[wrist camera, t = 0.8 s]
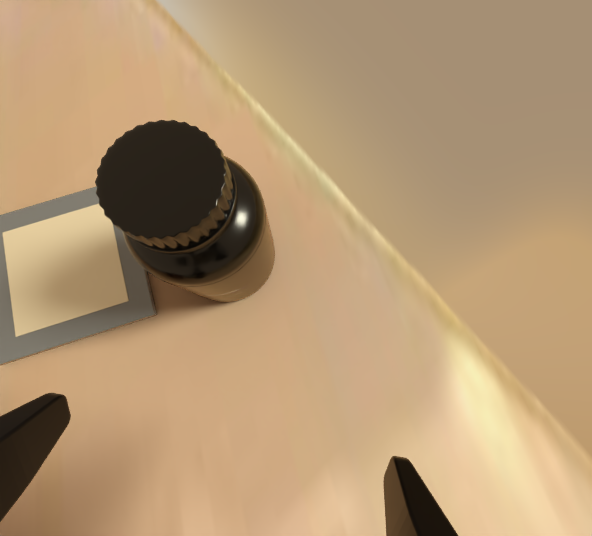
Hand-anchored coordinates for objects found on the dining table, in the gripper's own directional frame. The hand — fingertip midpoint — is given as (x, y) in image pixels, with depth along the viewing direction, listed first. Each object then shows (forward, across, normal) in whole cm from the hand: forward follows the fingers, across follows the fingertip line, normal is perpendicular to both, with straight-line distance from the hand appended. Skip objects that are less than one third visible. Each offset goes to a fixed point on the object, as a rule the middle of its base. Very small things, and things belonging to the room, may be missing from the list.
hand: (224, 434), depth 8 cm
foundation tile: (+13, +16, +4) cm, 21 cm away
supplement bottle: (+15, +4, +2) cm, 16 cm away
